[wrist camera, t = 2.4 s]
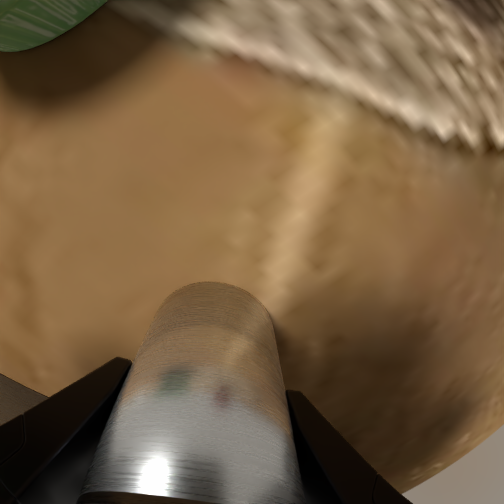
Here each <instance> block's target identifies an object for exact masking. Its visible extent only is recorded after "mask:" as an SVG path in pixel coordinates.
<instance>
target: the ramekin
mask: <svg viewBox="0 0 504 504" xmlns="http://www.w3.org/2000/svg"><path fill="white" fill-rule="evenodd" d="M107 1H108V0H0V51H3V52H18V51H22V50H27V49H31V48H34V47H36V46H39V45H42V44H44V43H46V42H48V41H50V40H52V39H54V38H56V37H58V36H60V35H61V34H63V33H65V32H66V31H68V30H70V29H71V28H73V27H74V26H76V25H77V24H79V23H80V22H82V21H83V20H84V19H86V18H87V17H88V16H89V15H91V14H92V13H93V12H95V11H96V10H97V9H98V8H100V7H101V6H102V5H103V4H104V3H106V2H107Z"/></svg>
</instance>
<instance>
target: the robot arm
mask: <svg viewBox="0 0 504 504" xmlns="http://www.w3.org/2000/svg"><path fill="white" fill-rule="evenodd" d="M131 366H132V362H131V361H130V360H128V359H125V358H121V357H116V358H114V359H112V360H111V361H109V362H107V363H106V364H104V365H102V366H101V367H99V368H97V369H96V370H94V371H93V372H91V373H89V374H88V375H86V376H84V377H83V378H81V379H79V380H78V381H76V382H74V383H73V384H71V385H69V386H67V387H66V388H64V389H62V390H61V391H59V392H57V393H56V394H54V395H52V396H51V397H49V398H47V399H46V400H44V401H42V402H40V403H39V404H37V405H35V406H34V407H32V408H30V409H28V410H27V411H25V412H24V413H23V414H20V415H18V416H16V417H14V418H13V419H11V420H9V421H7V422H5V423H3V424H2V425H0V504H76V502H77V499H78V496H79V493H80V491H81V488H82V485H83V482H84V480H85V477H86V474H87V471H88V469H89V466H90V463H91V461H92V458H93V456H94V453H95V451H96V448H97V445H98V443H99V440H100V438H101V435H102V433H103V431H104V428H105V426H106V423H107V421H108V418H109V416H110V414H111V411H112V409H113V407H114V404H115V402H116V400H117V397H118V395H119V393H120V390H121V388H122V386H123V384H124V381H125V379H126V377H127V375H128V372H129V370H130V368H131ZM285 393H286V398H287V403H288V409H289V414H290V420H291V425H292V431H293V436H294V442H295V447H296V453H297V459H298V464H299V470H300V475H301V481H302V487H303V492H304V498H305V504H413V503H411V502H410V501H409V500H407V499H406V498H405V497H404V496H403V495H401V494H400V493H399V492H398V491H397V490H396V489H395V488H393V487H392V486H391V485H390V484H389V483H388V482H387V481H386V480H385V479H384V478H383V477H382V476H381V475H380V474H377V471H376V470H375V469H374V468H372V467H371V466H370V465H369V464H368V463H367V462H366V460H365V459H364V458H363V457H362V456H361V455H360V454H359V453H358V452H357V451H356V450H355V449H354V448H353V447H352V446H351V445H350V444H349V443H348V442H347V441H346V440H345V439H344V438H343V437H342V436H341V435H340V434H339V433H338V432H337V431H336V430H335V428H334V427H333V426H332V425H331V424H330V423H329V422H328V421H327V420H326V419H325V418H324V417H323V416H322V415H321V413H320V412H319V411H318V410H317V409H316V408H315V407H314V406H313V405H312V404H311V403H310V401H309V400H308V399H307V398H306V397H305V396H304V395H303V394H302V393H301V392H300V391H294V390H286V391H285Z"/></svg>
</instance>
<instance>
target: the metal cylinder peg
mask: <svg viewBox="0 0 504 504" xmlns="http://www.w3.org/2000/svg"><path fill="white" fill-rule="evenodd" d="M76 504H305V498H304V492H303V487H302V481H301V475H300V470H299V464H298V459H297V453H296V447H295V442H294V436H293V431H292V425H291V420H290V414H289V409H288V403H287V398H286V393H285V387H284V382H283V376H282V371H281V366H280V360H279V355H278V349H277V344H276V339H275V333H274V328H273V324H272V321H271V318H270V316H269V314H268V312H267V310H266V309H265V308H264V306H263V305H262V304H261V303H260V302H259V301H258V300H257V299H256V298H255V297H254V296H252V295H251V294H250V293H248V292H246V291H244V290H243V289H241V288H238V287H236V286H233V285H229V284H226V283H220V282H199V283H194V284H190V285H187V286H184V287H182V288H180V289H178V290H176V291H175V292H173V293H172V294H171V295H169V296H168V297H167V298H166V299H165V300H164V302H163V303H162V304H161V306H160V307H159V309H158V311H157V313H156V315H155V317H154V319H153V321H152V323H151V325H150V328H149V330H148V332H147V334H146V336H145V338H144V340H143V342H142V344H141V346H140V349H139V351H138V353H137V355H136V357H135V359H134V361H133V364H132V366H131V368H130V370H129V372H128V375H127V377H126V379H125V381H124V384H123V386H122V388H121V390H120V393H119V395H118V397H117V400H116V402H115V404H114V407H113V409H112V411H111V414H110V416H109V418H108V421H107V423H106V426H105V428H104V431H103V433H102V435H101V438H100V440H99V443H98V445H97V448H96V451H95V453H94V456H93V458H92V461H91V463H90V466H89V469H88V471H87V474H86V477H85V480H84V482H83V485H82V488H81V491H80V493H79V496H78V499H77V502H76Z"/></svg>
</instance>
